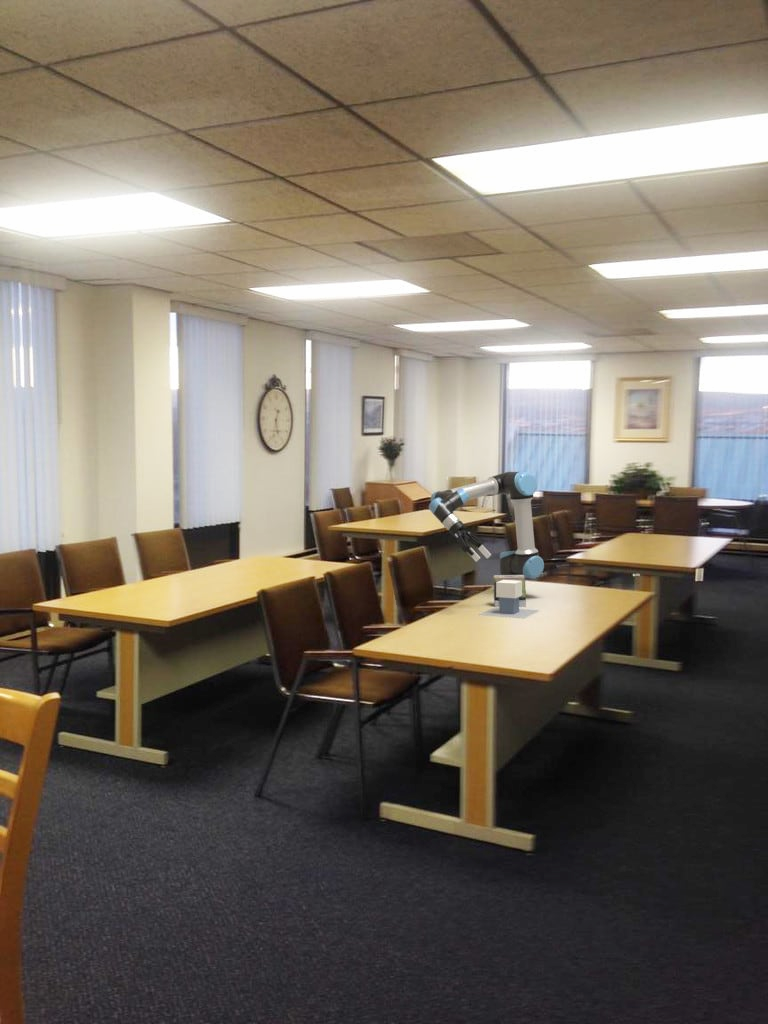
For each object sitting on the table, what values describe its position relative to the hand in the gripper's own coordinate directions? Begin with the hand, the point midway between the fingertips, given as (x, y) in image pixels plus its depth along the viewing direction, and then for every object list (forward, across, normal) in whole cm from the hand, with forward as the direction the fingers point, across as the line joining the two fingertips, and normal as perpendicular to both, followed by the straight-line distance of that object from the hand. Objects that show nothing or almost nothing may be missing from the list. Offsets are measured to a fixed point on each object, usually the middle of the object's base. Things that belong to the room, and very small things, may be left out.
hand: (483, 558), depth 399 cm
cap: (+21, 0, -3) cm, 21 cm away
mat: (+26, 0, -9) cm, 28 cm away
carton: (+26, 0, -9) cm, 27 cm away
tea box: (+22, -19, -14) cm, 32 cm away
